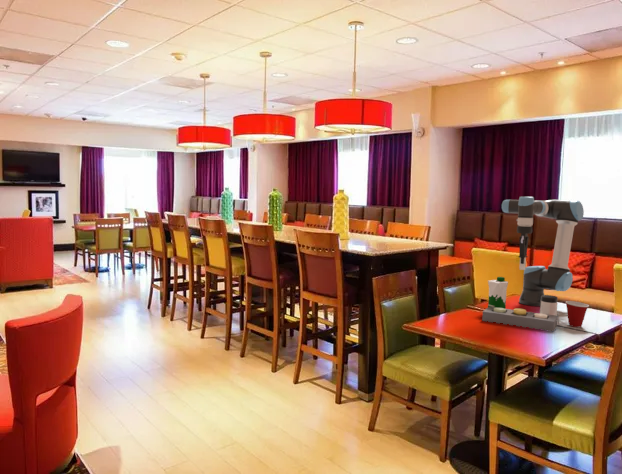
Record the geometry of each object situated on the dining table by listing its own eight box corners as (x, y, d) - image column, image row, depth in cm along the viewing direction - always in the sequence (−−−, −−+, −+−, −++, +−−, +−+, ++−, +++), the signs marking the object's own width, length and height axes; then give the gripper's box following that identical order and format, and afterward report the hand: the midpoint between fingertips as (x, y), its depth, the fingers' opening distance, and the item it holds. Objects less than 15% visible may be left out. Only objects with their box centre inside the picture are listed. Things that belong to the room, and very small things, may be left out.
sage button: (494, 310, 267) (495, 307, 267) (506, 312, 264) (506, 308, 263) (492, 312, 262) (492, 309, 262) (504, 314, 259) (504, 310, 258)
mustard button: (514, 311, 261) (514, 307, 261) (527, 313, 258) (527, 309, 258) (512, 313, 256) (512, 310, 256) (524, 315, 253) (525, 311, 253)
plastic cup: (590, 329, 248) (592, 305, 247) (567, 327, 250) (569, 304, 249) (583, 323, 259) (585, 301, 257) (561, 322, 261) (562, 299, 260)
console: (488, 315, 273) (489, 306, 272) (557, 325, 254) (557, 315, 254) (482, 320, 261) (482, 311, 261) (553, 331, 243) (554, 321, 242)
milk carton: (508, 313, 277) (510, 278, 275) (496, 315, 273) (498, 279, 272) (496, 310, 285) (498, 275, 283) (484, 311, 281) (486, 276, 279)
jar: (559, 318, 268) (561, 297, 267) (552, 321, 263) (554, 298, 262) (543, 315, 275) (544, 294, 274) (536, 317, 270) (537, 296, 268)
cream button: (535, 316, 256) (535, 312, 256) (547, 318, 253) (548, 314, 253) (533, 318, 251) (533, 314, 251) (546, 320, 248) (546, 316, 248)
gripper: (519, 224, 272) (517, 267, 274) (514, 225, 261) (512, 270, 263) (534, 225, 268) (531, 268, 270) (530, 226, 257) (527, 271, 259)
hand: (522, 269), depth 266 cm, fingers closed
